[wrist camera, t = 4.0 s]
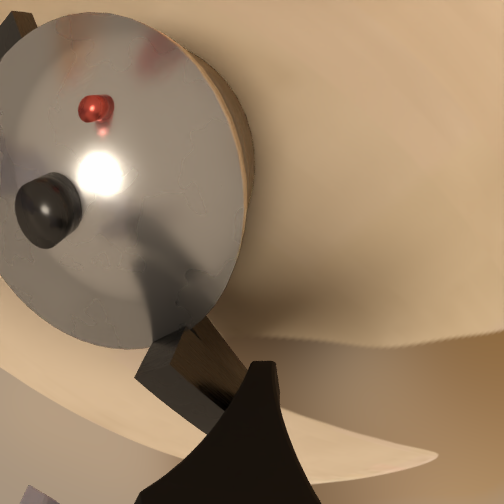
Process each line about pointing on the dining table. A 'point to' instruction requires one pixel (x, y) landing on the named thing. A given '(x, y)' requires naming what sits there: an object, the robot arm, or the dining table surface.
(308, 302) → the dining table surface
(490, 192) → the dining table surface
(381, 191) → the dining table surface
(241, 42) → the dining table surface
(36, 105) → the lid
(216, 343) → the pot
